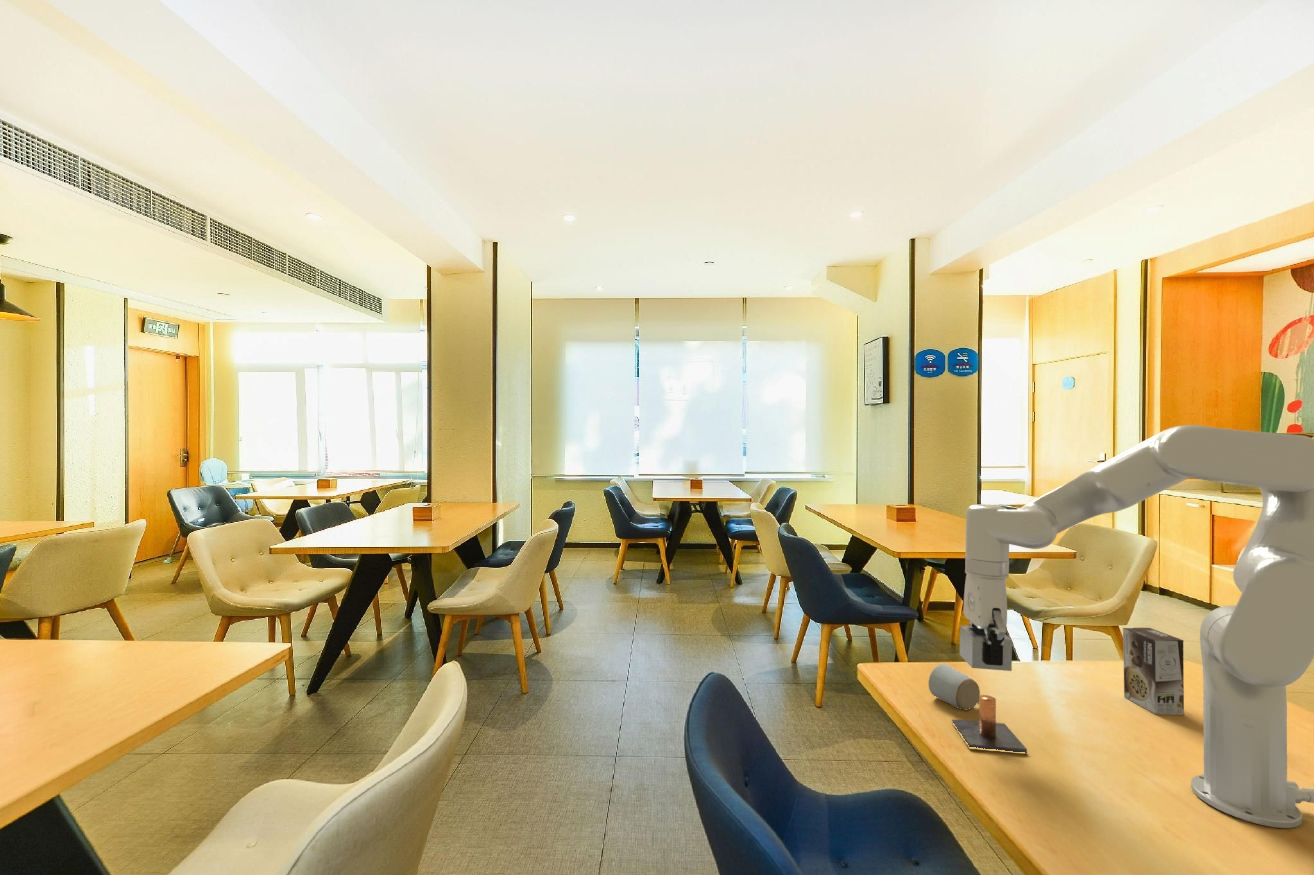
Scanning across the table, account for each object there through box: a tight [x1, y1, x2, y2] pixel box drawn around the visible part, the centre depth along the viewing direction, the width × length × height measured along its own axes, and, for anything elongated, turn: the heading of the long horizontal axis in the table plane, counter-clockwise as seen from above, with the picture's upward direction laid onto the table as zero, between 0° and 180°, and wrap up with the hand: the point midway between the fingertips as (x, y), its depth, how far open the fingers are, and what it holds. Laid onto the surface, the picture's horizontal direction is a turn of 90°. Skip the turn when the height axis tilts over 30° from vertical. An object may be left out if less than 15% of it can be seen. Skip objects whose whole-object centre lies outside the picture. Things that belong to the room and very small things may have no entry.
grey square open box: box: [959, 624, 1013, 672], centre depth 114 cm, size 7×7×6 cm
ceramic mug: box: [928, 663, 981, 710], centre depth 130 cm, size 11×8×8 cm
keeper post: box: [951, 694, 1028, 754], centre depth 114 cm, size 10×10×8 cm
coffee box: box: [1122, 627, 1185, 716], centre depth 129 cm, size 9×6×16 cm
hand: (985, 656), depth 114 cm, fingers closed on grey square open box, 7 cm apart
